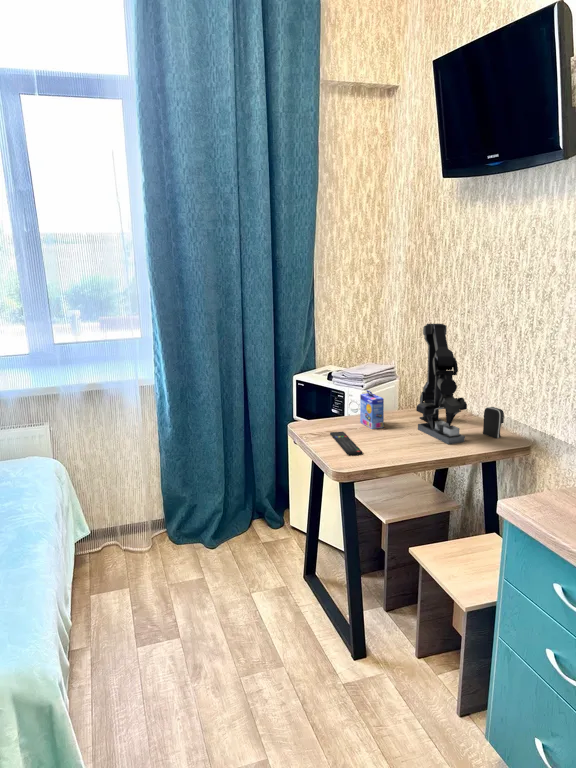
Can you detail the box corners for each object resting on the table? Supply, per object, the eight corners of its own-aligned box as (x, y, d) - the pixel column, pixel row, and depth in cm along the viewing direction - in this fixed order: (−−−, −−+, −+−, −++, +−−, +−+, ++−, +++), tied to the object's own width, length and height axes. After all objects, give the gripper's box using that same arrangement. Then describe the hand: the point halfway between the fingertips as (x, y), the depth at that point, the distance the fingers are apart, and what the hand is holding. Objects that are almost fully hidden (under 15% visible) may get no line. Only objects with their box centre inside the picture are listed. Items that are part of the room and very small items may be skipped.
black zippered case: (503, 439, 213) (506, 409, 210) (496, 440, 211) (498, 410, 208) (488, 434, 218) (491, 405, 216) (481, 435, 217) (483, 406, 214)
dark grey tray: (417, 431, 222) (418, 424, 222) (432, 429, 225) (433, 421, 224) (448, 446, 205) (448, 438, 204) (464, 444, 208) (464, 436, 207)
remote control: (343, 434, 221) (343, 431, 221) (363, 456, 198) (363, 452, 198) (329, 435, 220) (330, 432, 220) (348, 457, 197) (348, 453, 197)
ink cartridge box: (359, 422, 234) (359, 388, 231) (370, 421, 236) (371, 387, 233) (371, 429, 225) (372, 393, 222) (383, 427, 227) (385, 392, 224)
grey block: (432, 434, 216) (433, 421, 215) (441, 433, 217) (442, 420, 216) (439, 437, 212) (439, 424, 211) (448, 436, 214) (448, 423, 213)
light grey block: (442, 439, 210) (443, 426, 209) (451, 438, 212) (452, 425, 211) (449, 442, 207) (450, 429, 206) (458, 441, 208) (459, 428, 207)
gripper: (434, 395, 200) (432, 438, 204) (478, 390, 207) (475, 431, 210) (416, 388, 210) (414, 429, 214) (458, 384, 217) (456, 423, 220)
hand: (440, 428), depth 214 cm, fingers open, 6 cm apart
